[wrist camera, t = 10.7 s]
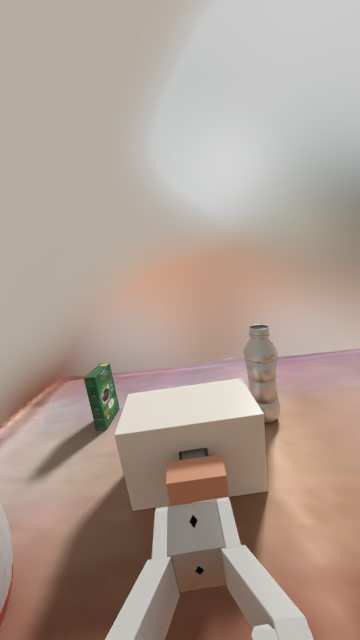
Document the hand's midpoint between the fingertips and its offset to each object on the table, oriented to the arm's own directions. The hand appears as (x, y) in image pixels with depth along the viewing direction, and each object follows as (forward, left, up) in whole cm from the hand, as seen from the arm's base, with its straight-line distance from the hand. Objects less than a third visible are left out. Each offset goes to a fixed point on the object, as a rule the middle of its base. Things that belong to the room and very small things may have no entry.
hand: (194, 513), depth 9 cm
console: (+20, -14, -24) cm, 34 cm away
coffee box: (+46, -8, -24) cm, 52 cm away
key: (+16, -11, -19) cm, 27 cm away
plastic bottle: (+20, -33, -24) cm, 45 cm away
